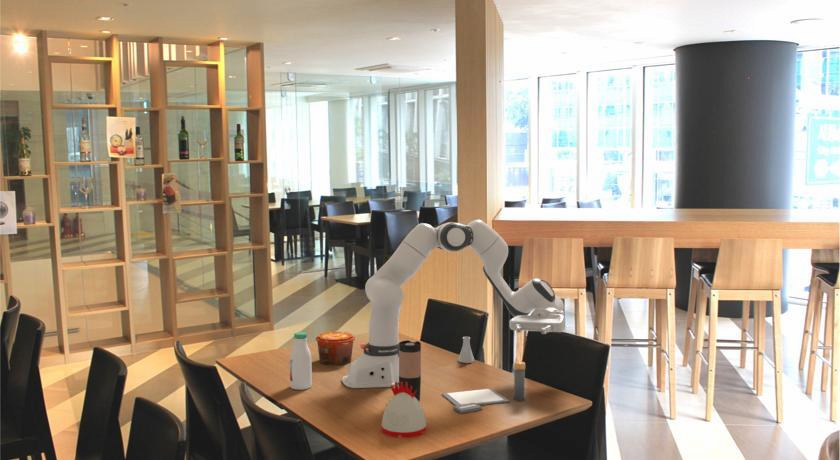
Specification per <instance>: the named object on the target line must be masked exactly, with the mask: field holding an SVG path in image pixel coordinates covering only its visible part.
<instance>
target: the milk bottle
mask: <svg viewBox="0 0 840 460" xmlns="http://www.w3.org/2000/svg"><path fill="white" fill-rule="evenodd" d="M293 340H294V344H293V346H292V349H291V350H290V356H289V379H290V380H289V382H290V383H289V385H290V388H291V389H292V390H296V391H297V390H300V391H301V390H303V391H304V390H308V389H310V388H311V387H312V385H313V384H312V383H313V382H312V380H313V379H312V378H313V377H312V375H313V373H312V372H313V370H312V368H313V367H312V354H311V350H310V348H309V346H308V342H307V340H308V334H307V332H304V331H299V332H295V333H293Z"/></svg>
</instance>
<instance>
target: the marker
mask: <svg viewBox="0 0 840 460" xmlns="http://www.w3.org/2000/svg"><path fill="white" fill-rule="evenodd" d="M513 364H514V365H513V369H514V377H513V401H516V402H524V401H525V390H526V389H525V388H526V387H525V382H526V363H525V361H514V363H513Z"/></svg>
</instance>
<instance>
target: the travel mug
mask: <svg viewBox="0 0 840 460" xmlns="http://www.w3.org/2000/svg"><path fill="white" fill-rule="evenodd" d="M421 349H422V343H421V341H419V340H416V341H412V340H401V341H400V342H399V383H398V387H399V389H400V385H401V382H403V388H405V384H406V382H407V384H408V389H410V387H411V386H412V390H411V393H412V394H414V392H415V391H416V390H417V391H416V394H415V396H414V397H415V398H416V399H417V400H418V401H420V400H421V385H422V382H421V381H422V350H421Z"/></svg>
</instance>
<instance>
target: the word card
mask: <svg viewBox="0 0 840 460" xmlns="http://www.w3.org/2000/svg"><path fill="white" fill-rule="evenodd" d="M453 410H454V411H456V412H458V413H460V414H467V413H473V412H477V411H481V410H483V406H482V405H480V406H479V405H477V404H475V403H469V404H463V405H458V406H455V405H453Z"/></svg>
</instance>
